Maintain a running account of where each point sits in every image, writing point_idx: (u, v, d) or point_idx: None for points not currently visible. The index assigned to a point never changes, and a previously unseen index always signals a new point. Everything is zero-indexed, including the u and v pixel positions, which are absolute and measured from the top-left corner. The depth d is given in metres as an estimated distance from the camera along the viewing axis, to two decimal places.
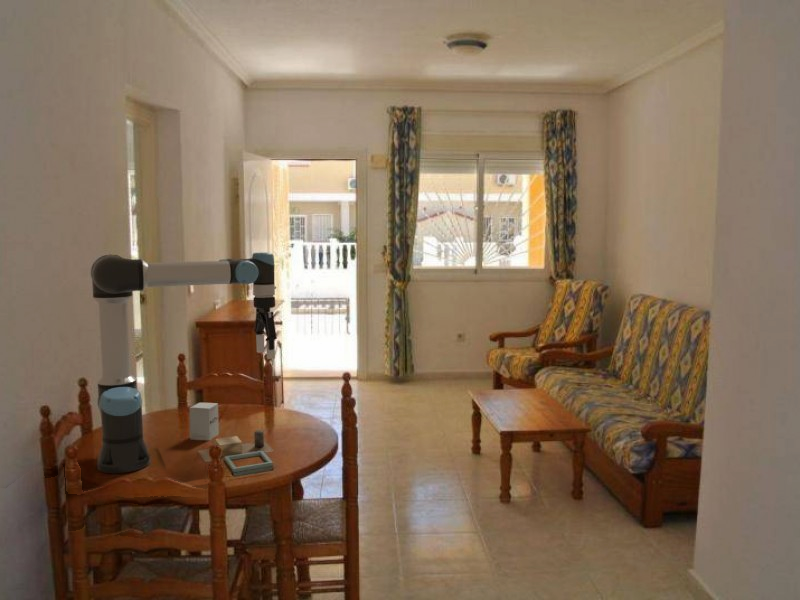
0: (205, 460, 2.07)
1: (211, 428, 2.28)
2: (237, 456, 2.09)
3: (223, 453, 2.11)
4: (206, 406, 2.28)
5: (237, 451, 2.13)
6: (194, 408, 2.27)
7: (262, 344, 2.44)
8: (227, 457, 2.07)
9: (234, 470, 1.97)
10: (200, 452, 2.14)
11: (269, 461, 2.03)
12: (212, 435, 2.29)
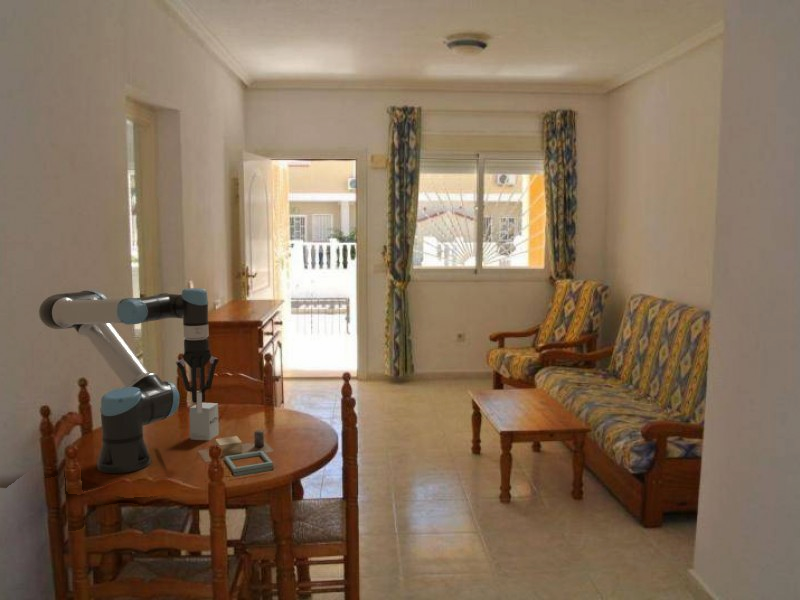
0: (205, 460, 2.07)
1: (211, 428, 2.28)
2: (237, 456, 2.09)
3: (223, 453, 2.11)
4: (206, 406, 2.28)
5: (237, 451, 2.13)
6: (194, 408, 2.27)
7: None
8: (227, 457, 2.07)
9: (234, 470, 1.97)
10: (200, 452, 2.14)
11: (269, 461, 2.03)
12: (212, 435, 2.29)
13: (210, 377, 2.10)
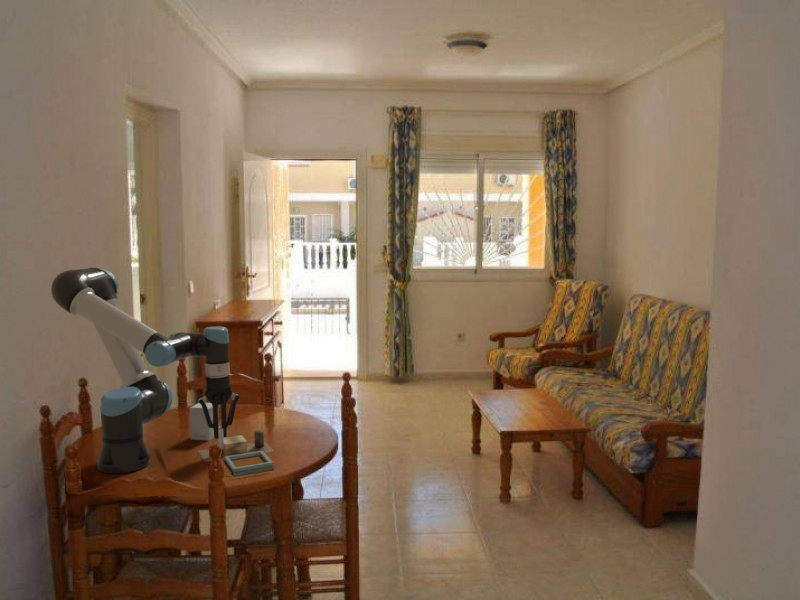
0: (205, 460, 2.07)
1: (211, 428, 2.28)
2: (237, 456, 2.09)
3: (228, 452, 2.12)
4: None
5: (242, 450, 2.14)
6: (194, 408, 2.27)
7: None
8: (227, 457, 2.07)
9: (234, 470, 1.97)
10: (200, 452, 2.14)
11: (269, 461, 2.03)
12: (212, 435, 2.29)
13: (231, 413, 2.14)
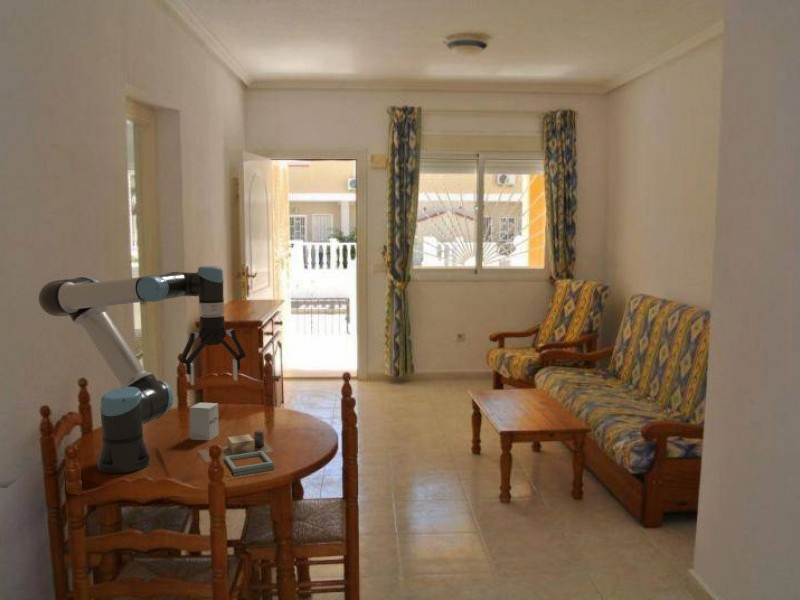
0: (205, 460, 2.07)
1: (211, 428, 2.28)
2: (237, 456, 2.09)
3: (235, 451, 2.13)
4: (206, 406, 2.28)
5: (249, 449, 2.15)
6: (194, 408, 2.27)
7: (234, 371, 2.13)
8: (227, 457, 2.07)
9: (234, 470, 1.97)
10: (200, 452, 2.14)
11: (269, 461, 2.03)
12: (212, 435, 2.29)
13: (238, 347, 2.13)
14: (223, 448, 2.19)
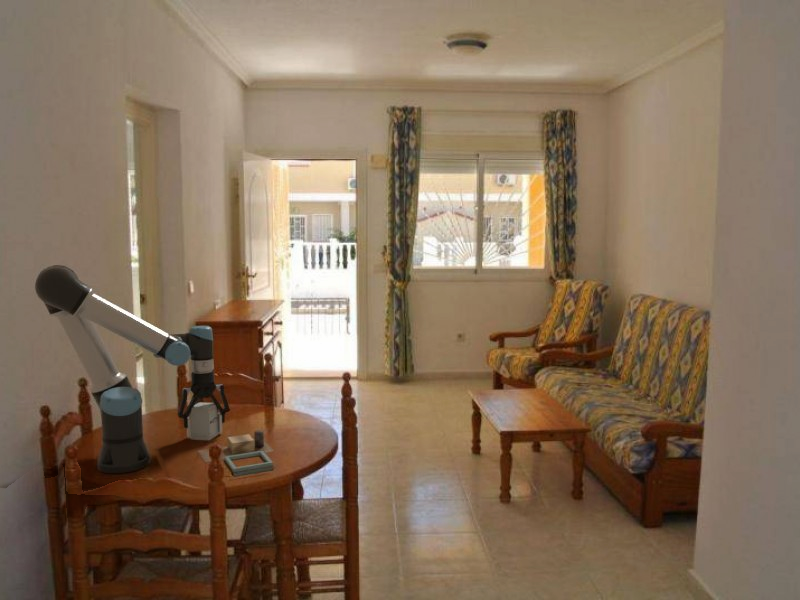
0: (205, 460, 2.07)
1: (211, 428, 2.28)
2: (237, 456, 2.09)
3: (235, 451, 2.13)
4: (206, 406, 2.28)
5: (249, 449, 2.15)
6: (194, 408, 2.27)
7: (219, 424, 2.32)
8: (227, 457, 2.07)
9: (234, 470, 1.97)
10: (200, 452, 2.14)
11: (269, 461, 2.03)
12: (212, 434, 2.29)
13: (224, 402, 2.32)
14: (223, 448, 2.19)
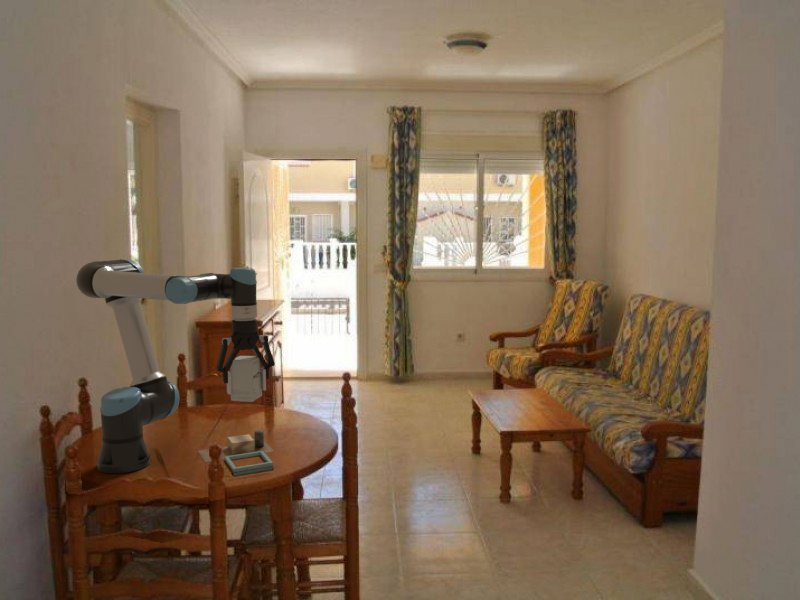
0: (205, 460, 2.07)
1: (254, 383, 2.00)
2: (237, 456, 2.09)
3: (235, 451, 2.13)
4: (249, 359, 2.00)
5: (249, 449, 2.15)
6: (235, 361, 1.99)
7: (262, 381, 2.04)
8: (227, 457, 2.07)
9: (234, 470, 1.97)
10: (200, 452, 2.14)
11: (269, 461, 2.03)
12: (256, 391, 2.01)
13: (269, 355, 2.04)
14: (223, 448, 2.19)
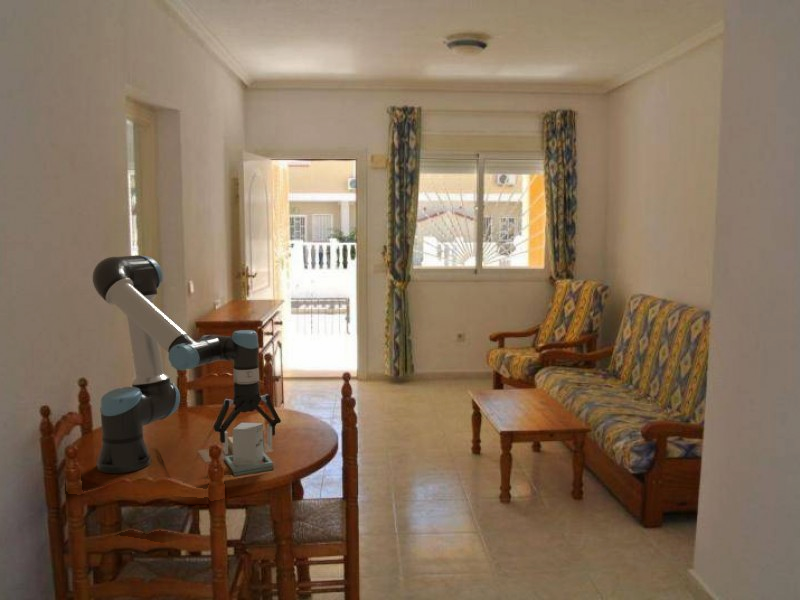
0: (205, 460, 2.07)
1: (257, 451, 2.02)
2: None
3: None
4: (251, 427, 2.02)
5: None
6: (238, 430, 2.01)
7: (269, 437, 2.07)
8: (227, 457, 2.07)
9: (234, 470, 1.97)
10: (200, 452, 2.14)
11: (269, 461, 2.03)
12: (258, 459, 2.03)
13: (273, 413, 2.06)
14: (223, 448, 2.19)
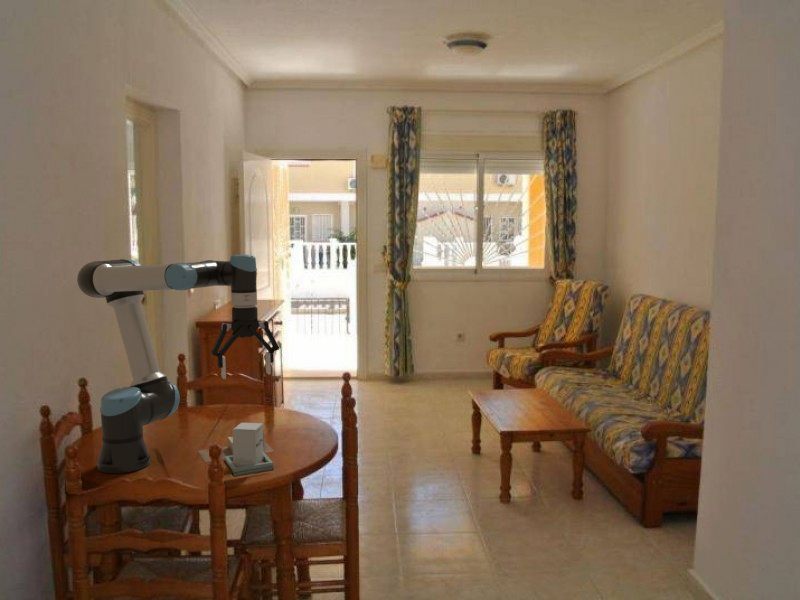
0: (205, 460, 2.07)
1: (257, 451, 2.02)
2: None
3: None
4: (251, 427, 2.02)
5: None
6: (238, 430, 2.01)
7: (267, 364, 2.04)
8: (227, 457, 2.07)
9: (234, 470, 1.97)
10: (200, 452, 2.14)
11: (269, 461, 2.03)
12: (258, 459, 2.03)
13: (272, 339, 2.04)
14: (223, 448, 2.19)
